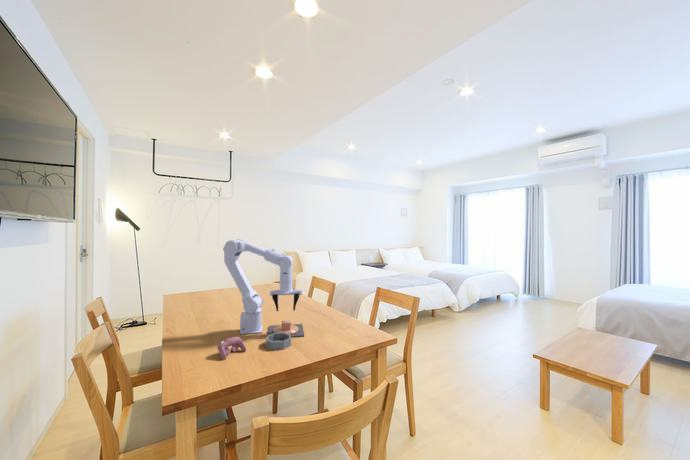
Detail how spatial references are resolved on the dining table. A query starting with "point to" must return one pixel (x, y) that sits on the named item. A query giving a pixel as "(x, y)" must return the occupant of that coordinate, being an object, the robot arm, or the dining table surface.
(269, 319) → the dining table surface
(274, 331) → the lid
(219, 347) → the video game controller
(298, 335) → the mat
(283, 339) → the bowl
